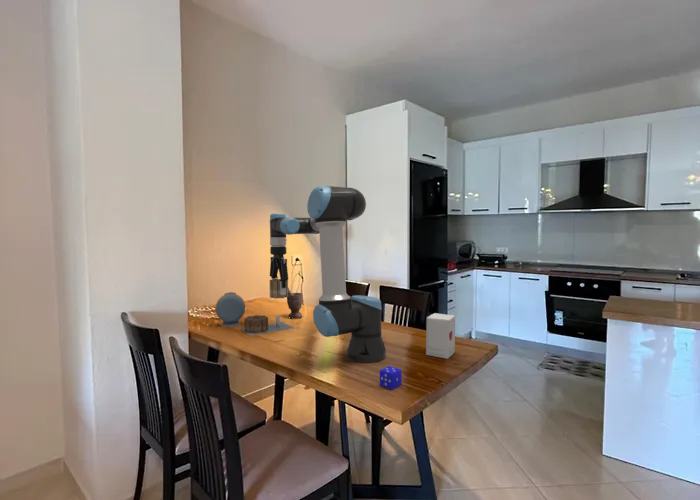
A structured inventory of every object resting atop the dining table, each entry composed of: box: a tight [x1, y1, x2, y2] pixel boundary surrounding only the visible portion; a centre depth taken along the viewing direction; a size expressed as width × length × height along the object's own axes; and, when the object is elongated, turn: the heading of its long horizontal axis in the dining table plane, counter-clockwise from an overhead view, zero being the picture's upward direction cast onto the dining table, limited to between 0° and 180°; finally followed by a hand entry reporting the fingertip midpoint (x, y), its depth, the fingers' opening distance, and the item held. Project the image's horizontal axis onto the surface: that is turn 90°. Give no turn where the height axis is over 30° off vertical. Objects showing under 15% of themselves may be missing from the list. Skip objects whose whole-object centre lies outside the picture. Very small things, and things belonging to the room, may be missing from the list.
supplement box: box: [425, 312, 456, 360], centre depth 147 cm, size 9×9×15 cm
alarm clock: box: [215, 291, 246, 328], centre depth 189 cm, size 14×10×18 cm
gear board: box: [240, 315, 295, 337], centre depth 181 cm, size 14×22×6 cm, turn 124°
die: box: [379, 365, 403, 391], centre depth 119 cm, size 5×5×5 cm
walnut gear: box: [243, 314, 269, 334], centre depth 178 cm, size 10×10×6 cm
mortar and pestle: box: [286, 287, 304, 319], centre depth 208 cm, size 12×9×20 cm
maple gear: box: [269, 278, 289, 300], centre depth 181 cm, size 9×9×8 cm
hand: (278, 293), depth 181 cm, fingers closed on maple gear, 9 cm apart
